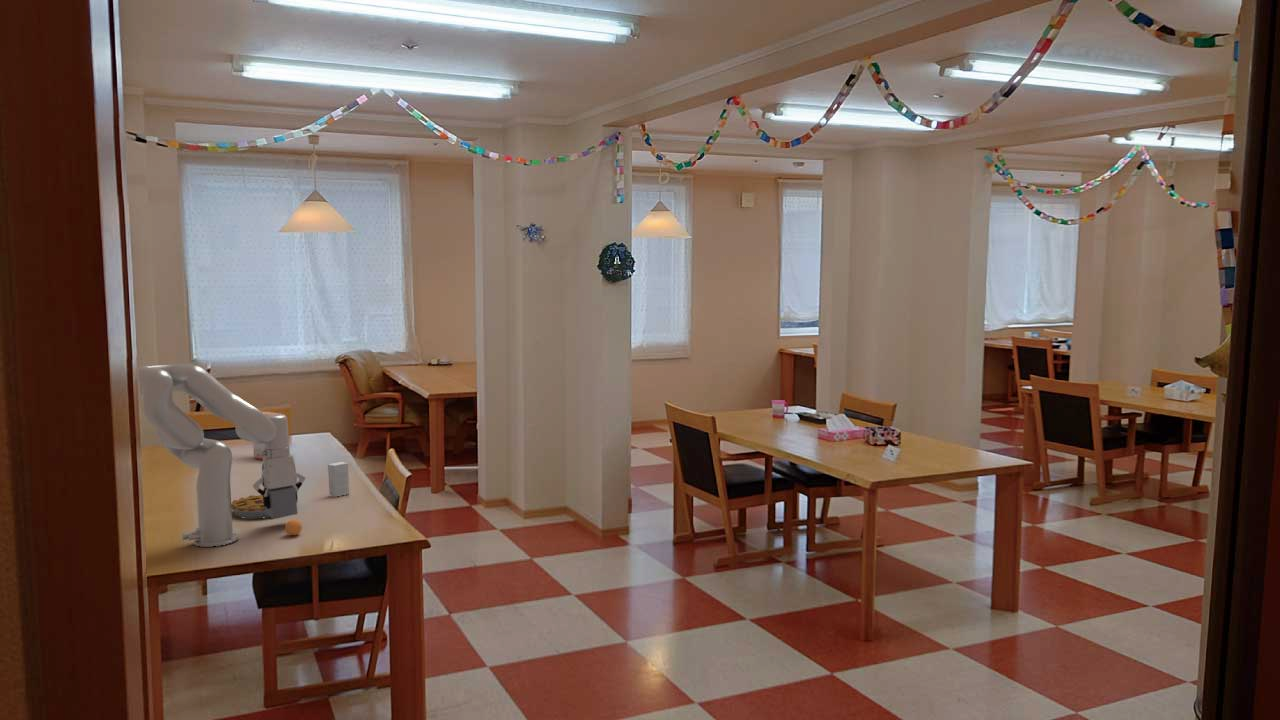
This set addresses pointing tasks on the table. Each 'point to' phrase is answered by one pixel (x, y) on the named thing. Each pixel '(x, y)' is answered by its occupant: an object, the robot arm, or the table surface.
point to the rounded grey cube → (282, 502)
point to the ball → (293, 527)
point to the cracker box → (260, 446)
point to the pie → (250, 507)
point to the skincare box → (338, 479)
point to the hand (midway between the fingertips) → (280, 505)
